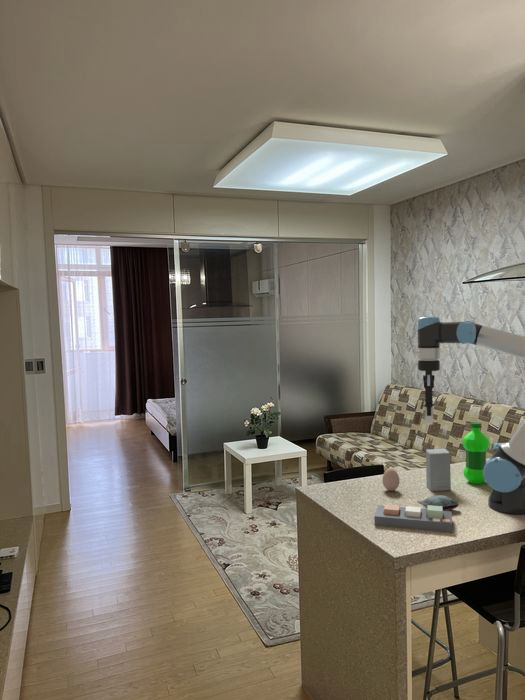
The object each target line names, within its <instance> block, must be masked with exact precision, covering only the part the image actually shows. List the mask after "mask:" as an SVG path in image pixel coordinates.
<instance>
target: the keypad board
mask: <svg viewBox="0 0 525 700" xmlns="http://www.w3.org/2000/svg"><path fill="white" fill-rule="evenodd" d="M384 508H385V505H381V504H380V505H379V504H378V505H377V507H376V510H375V513H374V517H373V518H374V526H383V527H392V528H401V529H402V528H403V529H414V530H421V531H422V530H424V531H432V532H440V533H441V532H444V533H453V516H452V510H448V511H443V519H438V518H427V508H426V509H425V508H421V517H411V516H405V510H406V506H405V507H404V506H403V507H402V506H400V515H389V514H384Z"/></svg>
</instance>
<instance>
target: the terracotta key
mask: <svg viewBox="0 0 525 700" xmlns="http://www.w3.org/2000/svg"><path fill="white" fill-rule="evenodd" d="M384 506H385V508H384V514H389V515H400V507H401V506H400V504H399V505H398V504H384Z"/></svg>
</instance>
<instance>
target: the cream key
mask: <svg viewBox="0 0 525 700" xmlns="http://www.w3.org/2000/svg"><path fill="white" fill-rule="evenodd" d="M405 508H406V510H405V516H411V517H421V509H422V507H421V506H410V505H409V506H408V505H406V506H405Z"/></svg>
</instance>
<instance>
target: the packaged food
mask: <svg viewBox="0 0 525 700" xmlns="http://www.w3.org/2000/svg"><path fill="white" fill-rule="evenodd" d="M417 503H418V504H419V505H422V507H424V508H426V509H427V506H428V505H432V506H442V508H443V511H452V510H454V509H456V508H458V507H460V505H459V503H458V502H457V501H456V500H454V499H452V498H451V497H449V496H446V495H441V494H438V495H434V496H433V495H432V496H429V497H426V498H423V499H422V500H420V501H419V500H417Z"/></svg>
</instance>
